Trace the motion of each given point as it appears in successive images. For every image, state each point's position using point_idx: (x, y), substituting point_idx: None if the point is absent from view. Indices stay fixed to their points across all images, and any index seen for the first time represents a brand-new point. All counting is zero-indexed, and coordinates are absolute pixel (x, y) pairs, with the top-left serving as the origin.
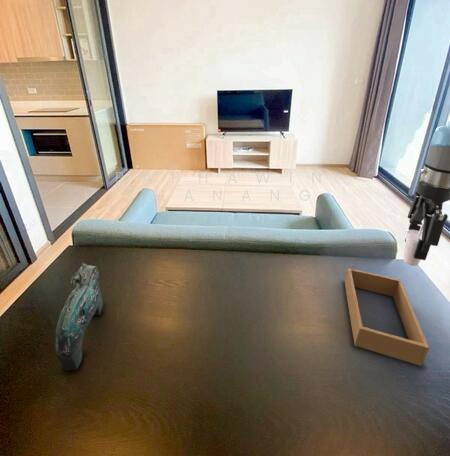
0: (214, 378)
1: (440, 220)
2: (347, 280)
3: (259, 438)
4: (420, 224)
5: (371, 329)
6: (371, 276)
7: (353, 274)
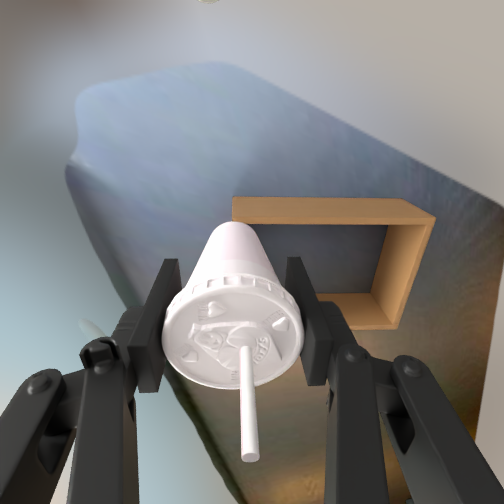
0: None
1: None
2: None
3: (475, 385)
4: (120, 354)
5: (398, 312)
6: None
7: None
